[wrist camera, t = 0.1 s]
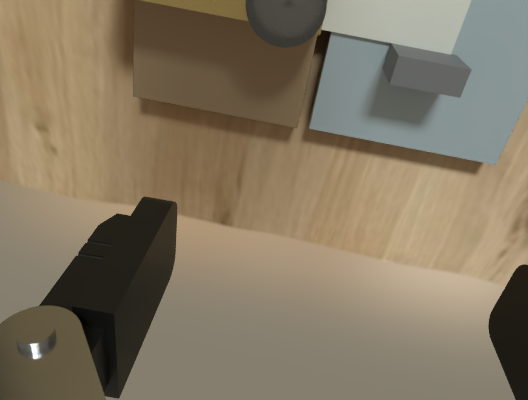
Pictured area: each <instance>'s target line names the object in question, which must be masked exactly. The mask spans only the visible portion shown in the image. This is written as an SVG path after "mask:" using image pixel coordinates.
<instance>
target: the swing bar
mask: <svg viewBox="0 0 528 400" xmlns="http://www.w3.org/2000/svg"><path fill="white" fill-rule="evenodd" d="M141 1H146V2H151V3H156V4H161V5H167V6H172V7H177V8H182V9H187V10H193V11H198V12H203V13H208V14H213V15H218V16H224V17H229V18H234V19H239V20H244V21H249V23H250V25H251V27H252V29H253V30H254V32H255V33H256V34H257V35H258V36H259V37H260V38H261V39H262V40H264V41H265V42H267V43H269V44H271V45H273V46H277V47H283V48H289V47H295V46H298V45H301V44H303V43H305V42H306V41H308V40H309V39H311V38H312V37H313V36H314V35H315V34H317V35H320V34H321V29H322V25H323V21H324V18H325V14H326V9H327V2H328V0H141Z"/></svg>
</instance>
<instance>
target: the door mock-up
mask: <svg viewBox="0 0 528 400" xmlns="http://www.w3.org/2000/svg"><path fill="white" fill-rule="evenodd" d="M321 30H326V31H330V33H329V38H328V42H327V46H326V51H325V55H324V59H323V64H322V68H321V72H320V77H319V81H318V85H317V90H316V94H315V98H314V103H313V107H312V111H311V116H310V120H309V129H313V130H318V131H324V132H329V133H334V134H339V135H344V136H349V137H354V138H360V139H365V140H370V141H375V142H380V143H385V144H390V145H396V146H401V147H406V148H411V149H416V150H421V151H426V152H432V153H437V154H442V155H447V156H452V157H457V158H462V159H468V160H473V161H478V162H483V163H488V164H493V165H496V163H497V161H498V159H499V157H500V155H501V153H502V151H503V149H504V147H505V145H506V143H507V141H508V139H509V137H510V135H511V133H512V131H513V129H514V127H515V125H516V123H517V121H518V119H519V117H520V115H521V113H522V111H523V109H524V107H525V105H526V103H527V101H528V0H328V2H327V9H326V14H325V18H324V21H323V25H322V29H321ZM316 39H317V34H315V35H314V36H313V37H312V38H311V39H309V40H308V41H306V42H305V43H303V44H301V45H298V46H295V47H289V48H283V47H277V46H273V45H271V44H269V43H267V42H265V41H264V40H262V39H261V38H260V37H259V36H258V35H257V34H256V33H255V32H254V30H253V29H252V27H251V25H250V23H249V21H244V20H239V19H234V18H229V17H224V16H218V15H213V14H208V13H203V12H198V11H193V10H187V9H182V8H177V7H172V6H167V5H161V4H156V3H151V2H146V1H141V0H134V43H133V96H134V97H139V98H144V99H149V100H154V101H160V102H165V103H170V104H175V105H180V106H185V107H190V108H196V109H201V110H206V111H211V112H216V113H221V114H226V115H232V116H237V117H242V118H247V119H252V120H257V121H262V122H268V123H273V124H278V125H283V126H288V127H293V128H297V127H298V122H299V118H300V113H301V108H302V104H303V99H304V95H305V90H306V85H307V81H308V76H309V72H310V67H311V62H312V58H313V53H314V49H315V44H316Z"/></svg>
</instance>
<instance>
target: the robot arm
mask: <svg viewBox="0 0 528 400" xmlns="http://www.w3.org/2000/svg"><path fill="white" fill-rule="evenodd" d="M176 226H177V204H176V202H173V201H167V200H161V199H156V198H150V197H143V198H142V199H141V201H140V202H139V204H138V205H137V207H136V208H135V210H134V212H133V213H132V214H131V216H128V215H122V214H116V215H114V216H113V217H111V218H109V219H108V220H106V221H104V222H103V223H101V224H100V225H98V227H97V228H96V230H95V231H94V232H93V234H92V235H91V236H90V238H89V239H88V242H87V243H85V245H84V246H83V247H82V248H81V250H80V251H79V254H78V256H76V257H75V258H74V259H73V261H72V262H71V263H70V265H69V266H68V268H67V269H66V270H65V272H64V273H63V274H62V276H61V277H60V279H59V280H58V281H57V282H56V284H55V285H54V286H53V288H52V289H51V291H50V292H49V293H48V295H47V296H46V297H45V299H44V300H43V301H42V303H41V304H40V305H39V306H36V307H32V308H28V309H25V310H22V311H20V312H18V313H15V314H13V315H12V316H10V317H9V318H7V319H6V320H4V321H3V322H2V323H1V324H0V400H106V398H105V396H108V397H113V398H119V397H120V395H121V393H122V390H123V388H124V386H125V383H126V381H127V378H128V376H129V374H130V372H131V369H132V367H133V364H134V362H135V360H136V357H137V355H138V353H139V350H140V348H141V346H142V343H143V341H144V339H145V336H146V334H147V332H148V329H149V327H150V325H151V322H152V320H153V317H154V315H155V313H156V310H157V308H158V306H159V303H160V301H161V299H162V296H163V294H164V291H165V289H166V287H167V285H168V282H169V280H170V277H171V274H172V270H173V266H174V261H175V251H176V249H175V248H176V228H177V227H176ZM489 334H490V338H491V341H492V343H493V345H494V348H495V350H496V353H497V355H498V358H499V360H500V363H501V365H502V367H503V370H504V372H505V375H506V377H507V380H508V382H509V384H510V387H511V389H512V392H513V394H514V396H515V399H516V400H528V265H521V266H519V267H518V268H517V269H516V270H515V272H514V273H513V275H512V277H511V278H510V280H509V282H508V284H507V285H506V287H505V289H504V291H503V292H502V294H501V296H500V298H499V299H498V301H497V303H496V305H495V306H494V308H493V310H492V312H491V314H490V319H489Z"/></svg>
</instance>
